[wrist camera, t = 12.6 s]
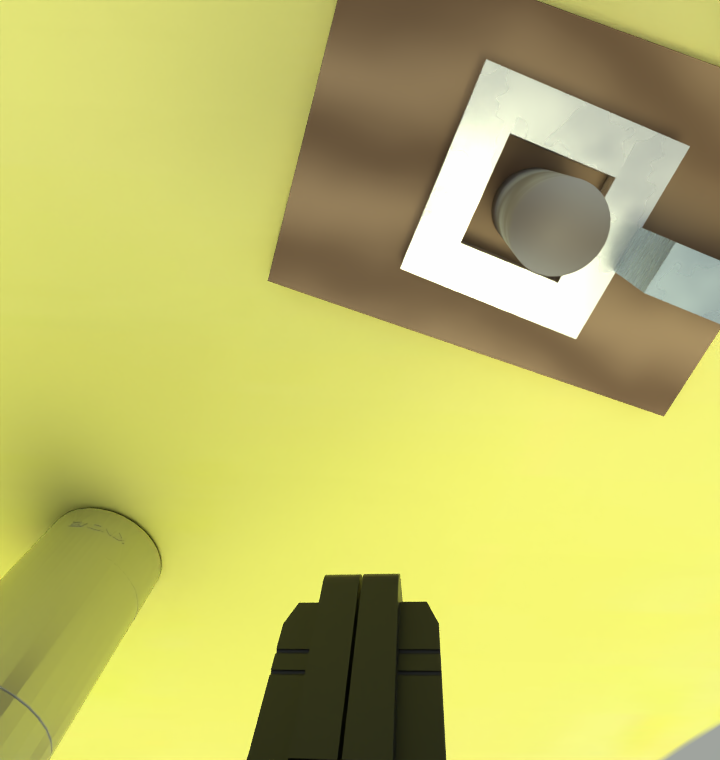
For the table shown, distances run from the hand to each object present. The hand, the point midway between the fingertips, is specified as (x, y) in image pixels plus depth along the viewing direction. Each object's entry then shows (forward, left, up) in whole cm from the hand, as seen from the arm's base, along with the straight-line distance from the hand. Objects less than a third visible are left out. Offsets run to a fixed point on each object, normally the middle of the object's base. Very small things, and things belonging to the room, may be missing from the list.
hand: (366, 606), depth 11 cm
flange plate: (+7, -8, -22) cm, 25 cm away
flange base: (+7, -5, -24) cm, 25 cm away
